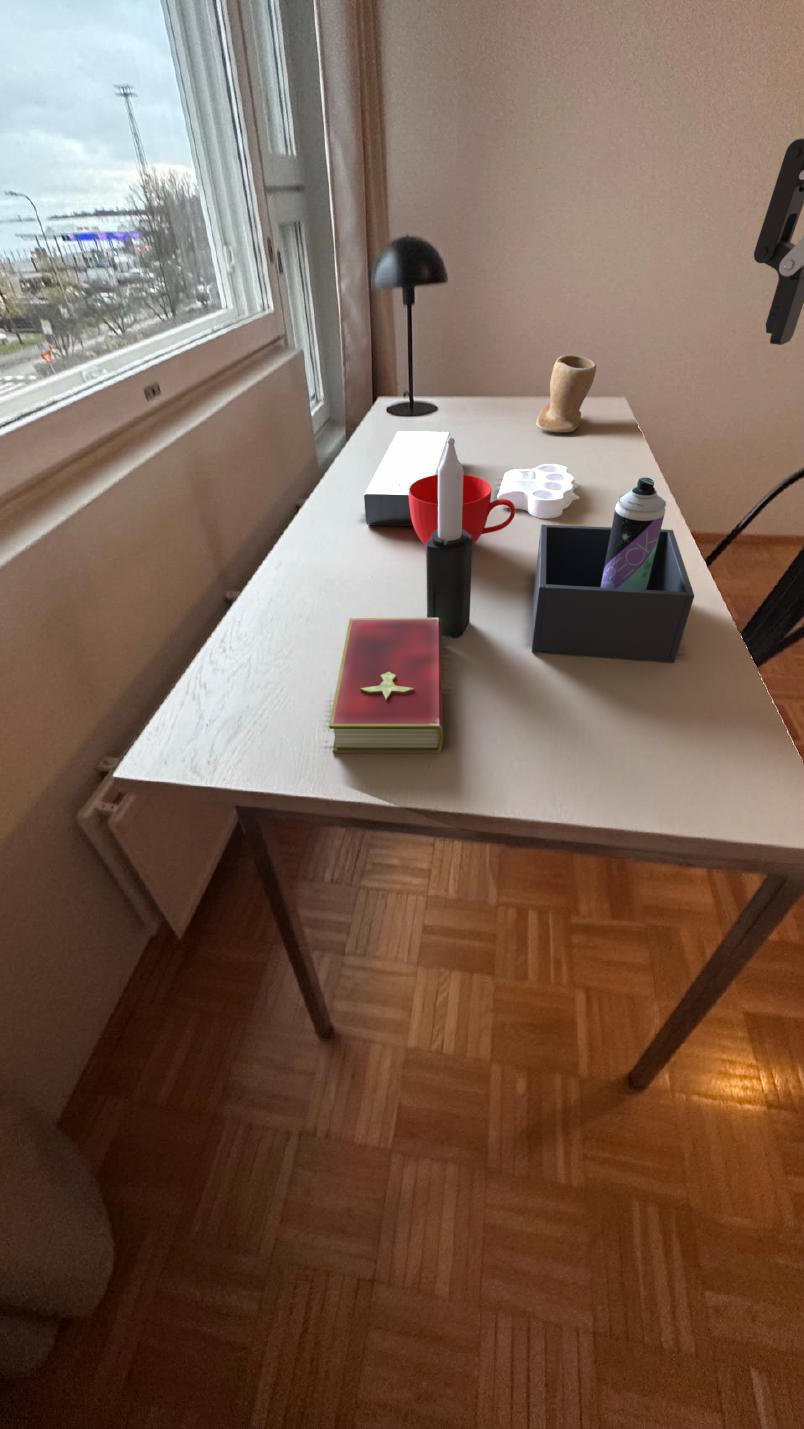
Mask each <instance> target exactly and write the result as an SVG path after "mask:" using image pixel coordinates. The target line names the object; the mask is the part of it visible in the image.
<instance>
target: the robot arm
mask: <svg viewBox="0 0 804 1429" xmlns="http://www.w3.org/2000/svg"><path fill="white" fill-rule="evenodd" d="M803 208H804V137H801V138H798V139H795V140H793V141H792V142H791V143H790V144H789V145H788V146H787V149H786V150H785V153H784V156H783V159H782V162H781V166H780V169H779V172H778V175H777V179H776V182H775V185H774V188H773V191H772V195H771V198H770V200H769V204H768V207H767V210H766V212H765V217H764V219H763V223H762V226H761V229H760V232H759V235H758V238H757V241H756V245H755V248H754V251H753V259H754V261H755V263H758V264H765V265H767V266H768V267H770V268H772V269H773V270H775V271H776V272H777V276H778V281H777V284H776V288H775V292H774V295H773V299H772V302H771V305H770V309H769V311H768V315H767V318H766V322H765V333H766V334H771V335H770V338H769V344H770V345H777V346H783V345H785V344H787V343H789V342H790V341H791V340H792V338H793V337H794V334H795V331H796V328H797V325H798V321H799V319H800V316H801V312H802V310H803V306H804V236H803V237H802V238H801V239H800V240H799V241H798V242H797V243H796V244H795V243H792V240H793V237H794V233H795V230H796V228H797V224H798V221H799V219H800V216H801V213H802V211H803Z"/></svg>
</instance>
